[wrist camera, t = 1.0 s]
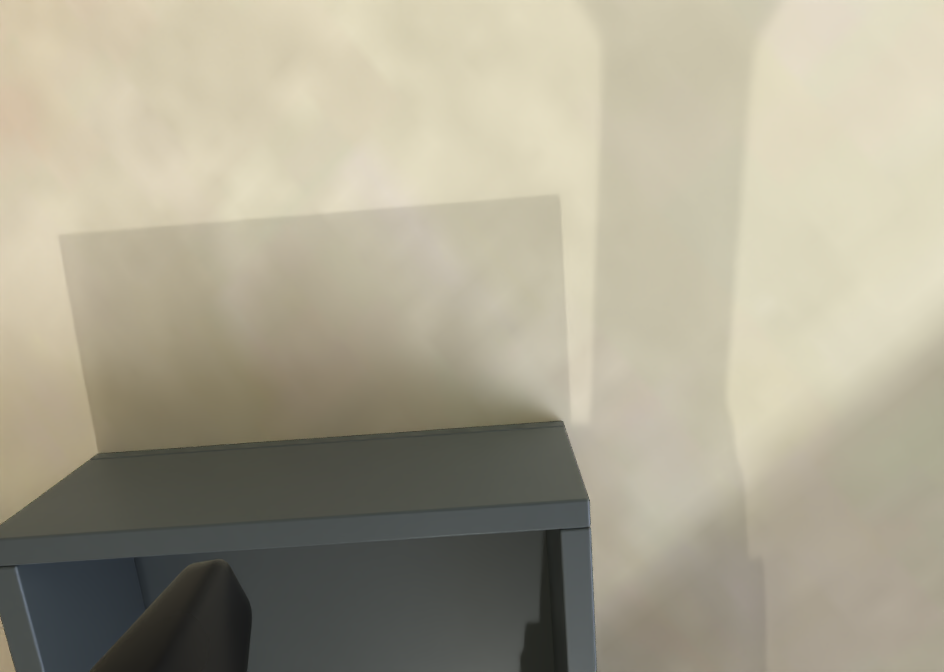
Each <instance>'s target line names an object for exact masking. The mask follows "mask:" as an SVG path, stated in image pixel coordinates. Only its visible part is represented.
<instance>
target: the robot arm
mask: <svg viewBox="0 0 944 672" xmlns="http://www.w3.org/2000/svg"><path fill="white" fill-rule="evenodd" d="M251 628H252V610H251V605H250V602H249V600H248V598H247V596H246V594H245V592H244V590H243V589H242V587H241V585H240V583H239V581H238V580H237V578H236V576H235V574H234V572H233V570H232V569H231V567H230V565H229V564H228V563H227V562H226V561H224V560H223V559H215V560H209V561H203V562H197V563H193V564H190V565H189V566H187V567H186V568H185V569H184V570H183V571H182V572H181V573H180V574H179V575H178V576H177V577H176V578H175V579H174V580H173V581H172V582H171V583H170V584H169V586H168V587H167V588H166V589H165V590H164V591H163V592H162V593H161V594H160V595H159V596H158V597H157V599H156V600H155V601H154V602H153V603H152V604H151V605H150V606H149V607H148V608H147V609H146V610H145V611H144V613H143V614H142V615H141V616H140V617H139V618H138V619H137V620H136V621H135V622H134V623H133V624H132V625H131V627H130V628H129V629H128V630H127V631H126V632H125V633H124V634H123V635H122V636H121V637H120V638H119V639H118V641H117V642H116V643H115V644H114V645H113V646H112V647H111V648H110V649H109V650H108V651H107V652H106V654H105V655H104V656H103V657H102V658H101V659H100V660H99V661H98V662H97V663H96V664H95V665H94V666H93V668H92V669H91V670H90V671H89V672H247V668H248V658H249V648H250V638H251Z"/></svg>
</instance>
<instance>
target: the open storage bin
mask: <svg viewBox="0 0 944 672" xmlns="http://www.w3.org/2000/svg"><path fill="white" fill-rule="evenodd" d="M590 525H591V520H590V500H589V497H588V494H587V491H586V488H585V485H584V482H583V479H582V476H581V473H580V470H579V468H578V465H577V462H576V459H575V456H574V453H573V450H572V447H571V444H570V441H569V438H568V435H567V432H566V429H565V426H564V423H563V421H553V422H539V423H525V424H511V425H497V426H483V427H469V428H455V429H440V430H426V431H412V432H398V433H384V434H370V435H356V436H342V437H328V438H314V439H299V440H285V441H271V442H257V443H243V444H229V445H215V446H201V447H187V448H173V449H158V450H144V451H130V452H116V453H102V454H97V455H95V456H94V457H92V458H91V459H90V460H89V461H87V462H86V463H85V464H83V465H82V466H80V467H79V468H78V469H76V470H75V471H74V472H72V473H71V474H70V475H68V476H67V477H65V478H64V479H63V480H61V481H60V482H59V483H57V484H56V485H54V486H53V487H52V488H50V489H49V490H48V491H46V492H45V493H44V494H42V495H41V496H39V497H38V498H37V499H35V500H34V501H33V502H31V503H30V504H29V505H27V506H26V507H24V508H23V509H22V510H20V511H19V512H18V513H16V514H15V515H14V516H12V517H11V518H9V519H8V520H7V521H5V522H4V523H3V524H1V525H0V617H1V620H2V624H3V627H4V631H5V635H6V638H7V642H8V645H9V649H10V652H11V656H12V660H13V663H14V667H15V670H16V672H89V671H90V670H91V669H92V668H93V666H94V665H95V664H96V663H97V662H98V661H99V660H100V659H101V658H102V657H103V656H104V655H105V654H106V652H107V651H108V650H109V649H110V648H111V647H112V646H113V645H114V644H115V643H116V642H117V641H118V639H119V638H120V637H121V636H122V635H123V634H124V633H125V632H126V631H127V630H128V629H129V628H130V627H131V625H132V624H133V623H134V622H135V621H136V620H137V619H138V618H139V617H140V616H141V615H142V614H143V613H144V611H145V610H146V609H147V608H148V607H149V606H150V605H151V604H152V603H153V602H154V601H155V600H156V599H157V597H158V596H159V595H160V594H161V593H162V592H163V591H164V590H165V589H166V588H167V587H168V586H169V584H170V583H171V582H172V581H173V580H174V579H175V578H176V577H177V576H178V575H179V574H180V573H181V572H182V571H183V570H184V569H185V568H186V567H187V566H189V565H190V564H193V563H197V562H203V561H209V560H215V559H223V560H224V561H226V562H227V563H228V564H229V565H230V567H231V569H232V570H233V572H234V574H235V576H236V578H237V580H238V581H239V583H240V585H241V587H242V589H243V590H244V592H245V594H246V596H247V598H248V600H249V602H250V605H251V610H252V628H251V638H250V648H249V658H248V668H247V672H597V662H596V638H595V614H594V591H593V567H592V543H591V528H590Z"/></svg>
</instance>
